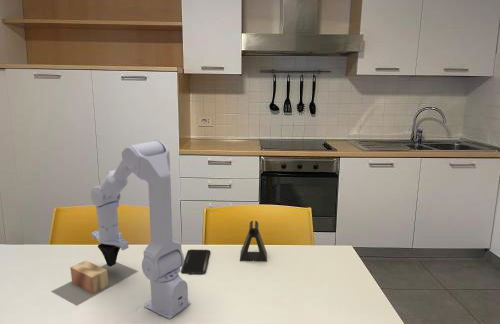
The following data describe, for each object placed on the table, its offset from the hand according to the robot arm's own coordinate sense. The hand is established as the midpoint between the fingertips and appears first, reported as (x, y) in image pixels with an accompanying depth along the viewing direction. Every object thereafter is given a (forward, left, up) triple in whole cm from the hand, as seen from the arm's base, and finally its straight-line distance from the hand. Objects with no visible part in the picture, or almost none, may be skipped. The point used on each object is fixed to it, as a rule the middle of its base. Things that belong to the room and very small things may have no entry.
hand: (111, 264), depth 116 cm
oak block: (0, +5, 0) cm, 5 cm away
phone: (-17, -19, -3) cm, 26 cm away
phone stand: (-31, -33, -3) cm, 45 cm away
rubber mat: (0, +6, -3) cm, 6 cm away
